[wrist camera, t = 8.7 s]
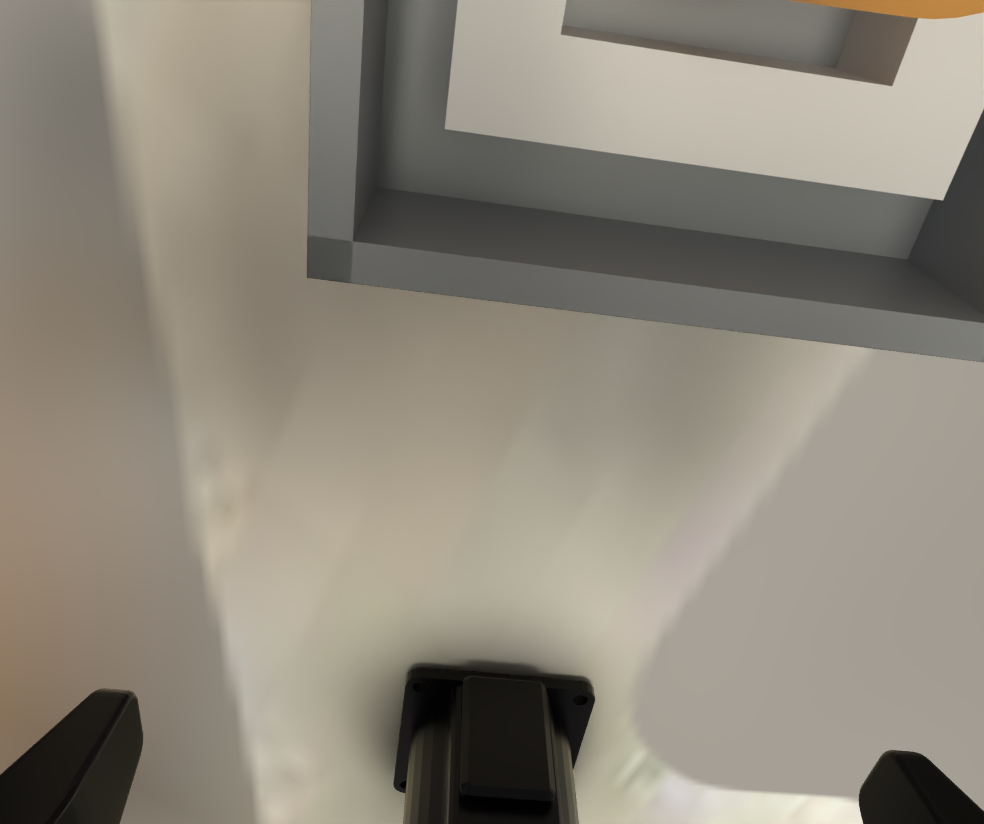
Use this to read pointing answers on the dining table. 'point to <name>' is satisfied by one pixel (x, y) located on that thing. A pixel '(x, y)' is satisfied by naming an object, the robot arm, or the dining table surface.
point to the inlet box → (658, 162)
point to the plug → (909, 7)
